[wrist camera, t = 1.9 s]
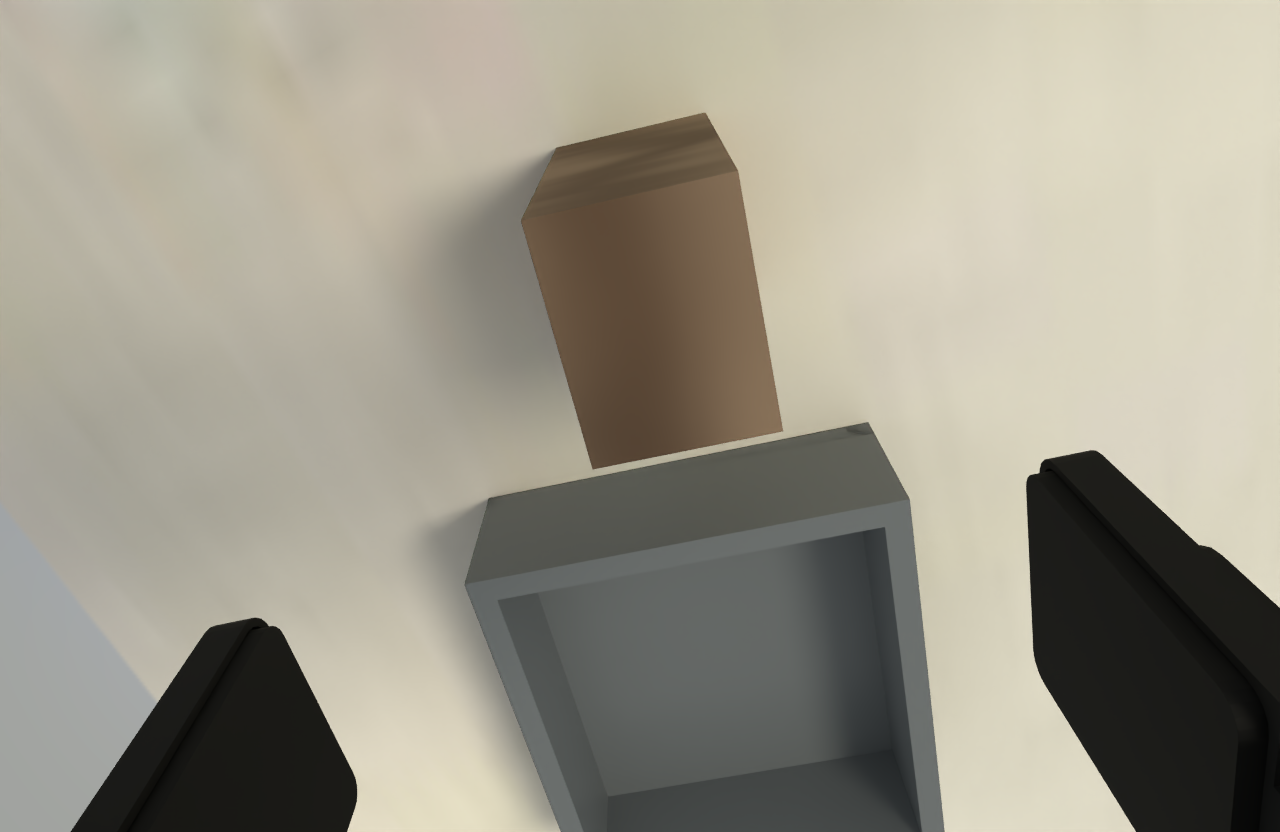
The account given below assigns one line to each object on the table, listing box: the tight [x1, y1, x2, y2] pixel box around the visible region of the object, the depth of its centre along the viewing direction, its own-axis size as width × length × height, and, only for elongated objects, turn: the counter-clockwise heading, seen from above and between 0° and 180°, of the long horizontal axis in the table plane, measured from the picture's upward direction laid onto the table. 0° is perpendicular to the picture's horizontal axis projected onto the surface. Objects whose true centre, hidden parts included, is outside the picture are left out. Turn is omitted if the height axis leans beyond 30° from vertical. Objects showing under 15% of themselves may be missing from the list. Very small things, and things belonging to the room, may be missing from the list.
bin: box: [465, 423, 945, 832], centre depth 32 cm, size 14×16×5 cm
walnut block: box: [521, 113, 783, 469], centre depth 23 cm, size 4×6×9 cm
